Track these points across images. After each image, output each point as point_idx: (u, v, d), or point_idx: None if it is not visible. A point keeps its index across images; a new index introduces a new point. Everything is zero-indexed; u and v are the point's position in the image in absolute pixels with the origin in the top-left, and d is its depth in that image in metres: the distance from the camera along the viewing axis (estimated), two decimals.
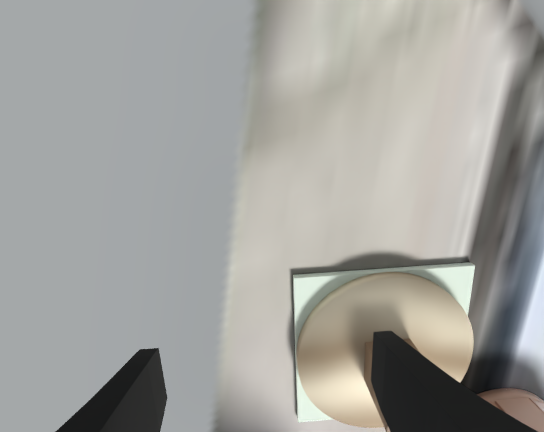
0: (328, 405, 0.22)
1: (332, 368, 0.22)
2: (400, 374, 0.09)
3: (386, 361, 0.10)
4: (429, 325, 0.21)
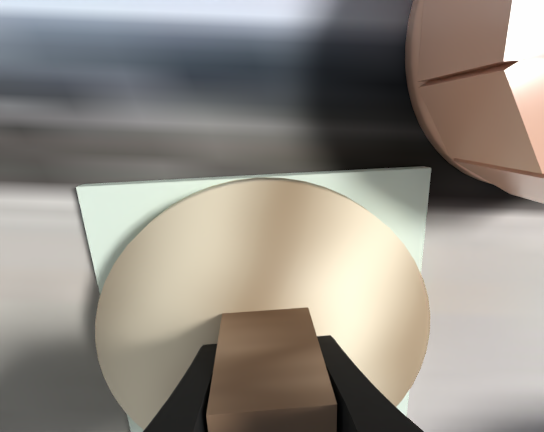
0: None
1: None
2: None
3: None
4: (191, 282, 0.11)
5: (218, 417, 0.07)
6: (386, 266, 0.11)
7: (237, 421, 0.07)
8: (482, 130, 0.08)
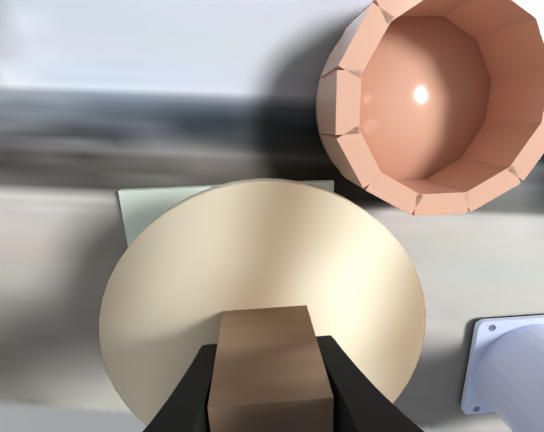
0: None
1: None
2: None
3: None
4: (193, 281, 0.11)
5: (219, 409, 0.08)
6: (383, 265, 0.11)
7: (237, 414, 0.08)
8: (343, 163, 0.15)
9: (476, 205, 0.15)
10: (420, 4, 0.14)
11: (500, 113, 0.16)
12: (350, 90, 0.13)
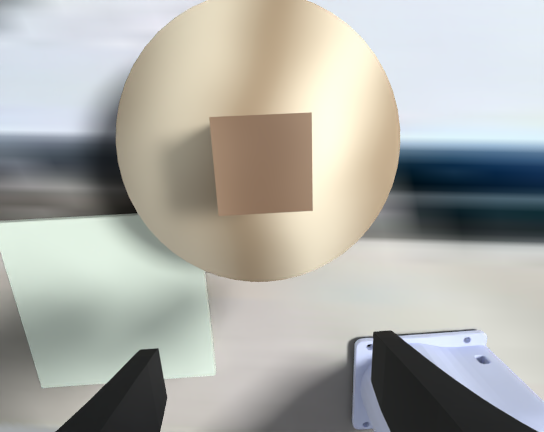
0: (342, 236, 0.15)
1: (274, 235, 0.15)
2: (400, 374, 0.09)
3: (386, 361, 0.10)
4: (197, 87, 0.13)
5: (218, 120, 0.09)
6: (361, 77, 0.13)
7: (233, 125, 0.09)
8: None
9: None
10: None
11: None
12: None
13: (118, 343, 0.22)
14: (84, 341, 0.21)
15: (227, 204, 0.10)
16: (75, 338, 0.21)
